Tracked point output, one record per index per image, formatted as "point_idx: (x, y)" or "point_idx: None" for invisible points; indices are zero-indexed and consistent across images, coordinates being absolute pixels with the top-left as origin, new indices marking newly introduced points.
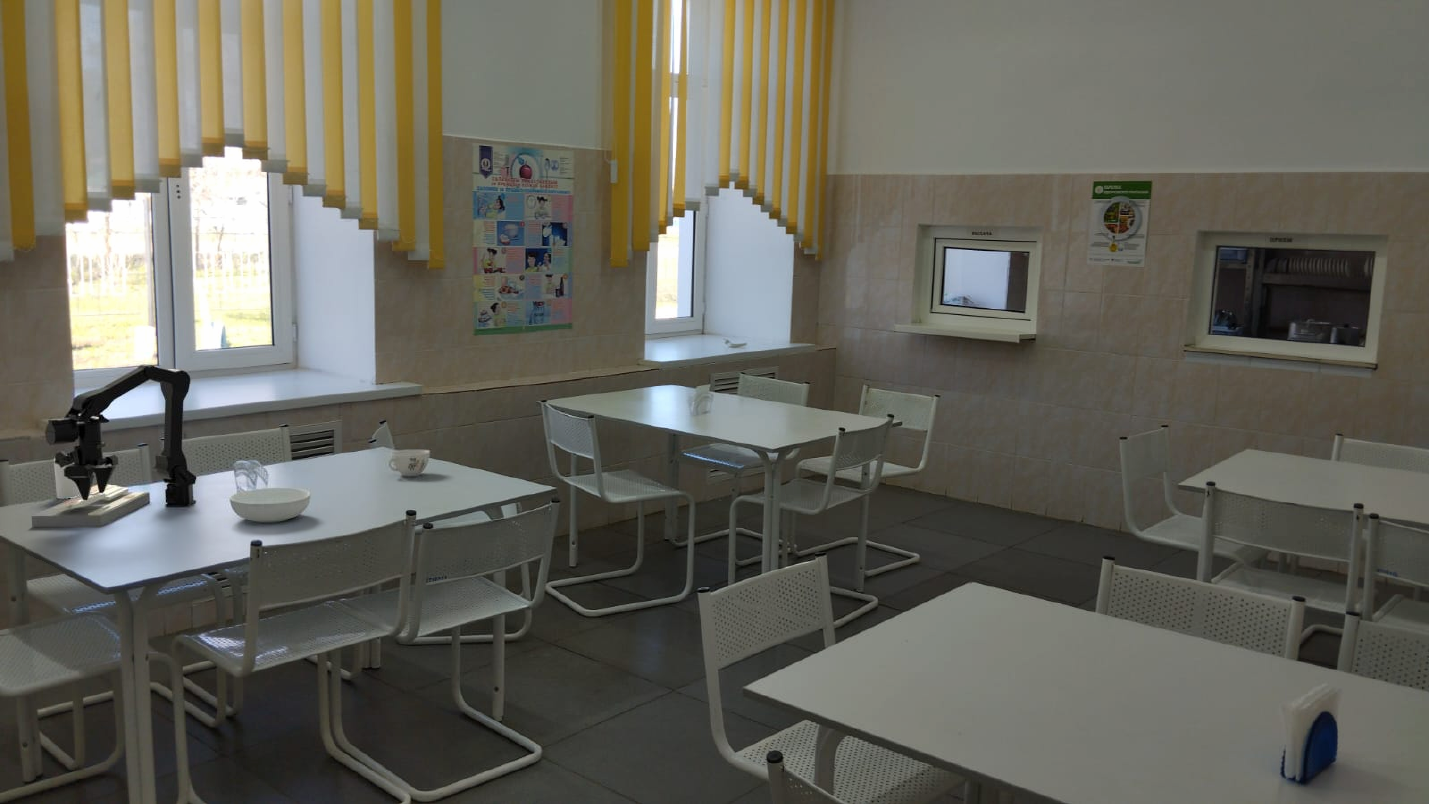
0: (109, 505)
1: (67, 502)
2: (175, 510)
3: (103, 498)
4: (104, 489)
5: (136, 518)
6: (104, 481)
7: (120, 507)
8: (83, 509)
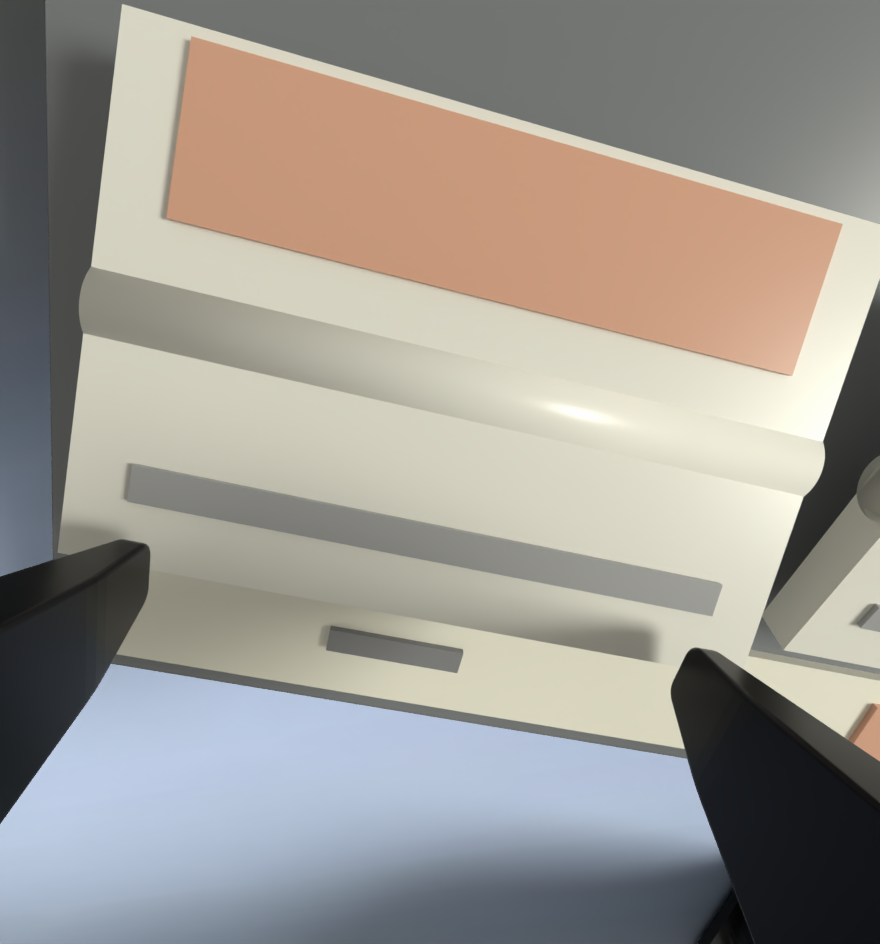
0: (528, 648)
1: (551, 157)
2: (601, 911)
3: (805, 575)
4: (693, 750)
5: (401, 756)
6: (781, 909)
7: (498, 719)
8: None
